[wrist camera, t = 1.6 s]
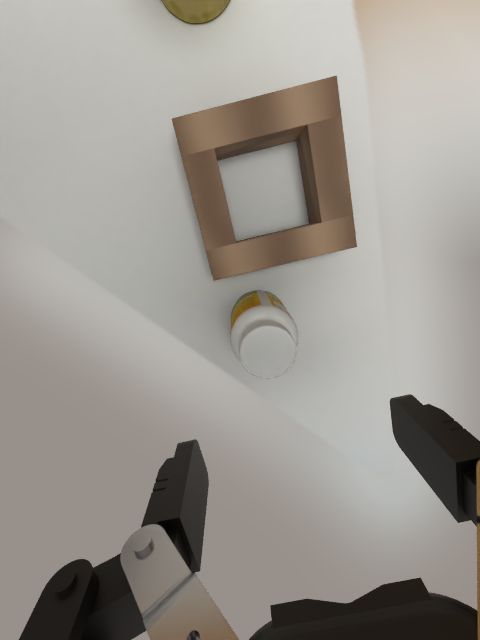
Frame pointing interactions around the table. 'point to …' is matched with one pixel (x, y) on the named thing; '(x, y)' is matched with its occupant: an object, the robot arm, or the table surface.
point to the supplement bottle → (263, 334)
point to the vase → (196, 9)
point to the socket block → (258, 133)
